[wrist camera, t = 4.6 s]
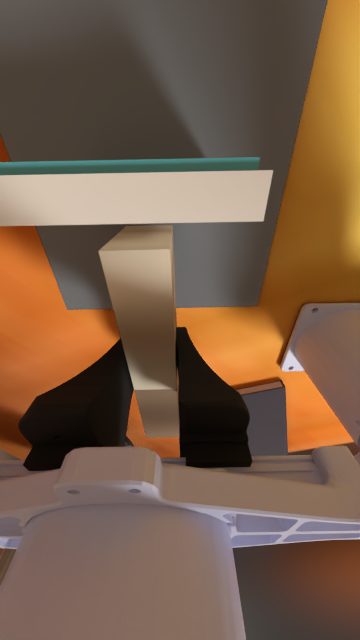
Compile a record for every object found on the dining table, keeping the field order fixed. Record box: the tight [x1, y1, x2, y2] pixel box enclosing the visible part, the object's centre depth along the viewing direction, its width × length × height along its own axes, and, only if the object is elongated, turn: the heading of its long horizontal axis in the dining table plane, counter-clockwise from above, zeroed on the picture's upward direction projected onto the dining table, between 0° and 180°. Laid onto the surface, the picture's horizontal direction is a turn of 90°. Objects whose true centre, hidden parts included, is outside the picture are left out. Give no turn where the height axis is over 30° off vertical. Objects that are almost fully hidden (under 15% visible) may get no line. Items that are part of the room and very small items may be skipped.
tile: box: [0, 157, 273, 226], centre depth 9 cm, size 2×8×8 cm, turn 91°
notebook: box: [236, 380, 288, 456], centre depth 29 cm, size 13×2×21 cm
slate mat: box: [0, 0, 327, 310], centre depth 12 cm, size 16×18×1 cm
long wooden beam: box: [98, 225, 179, 438], centre depth 13 cm, size 14×2×4 cm, turn 1°
